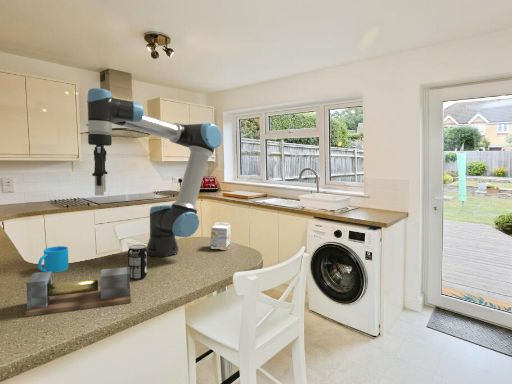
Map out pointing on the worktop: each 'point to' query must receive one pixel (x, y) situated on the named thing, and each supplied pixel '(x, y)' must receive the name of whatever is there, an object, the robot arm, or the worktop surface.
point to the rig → (110, 293)
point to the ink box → (220, 234)
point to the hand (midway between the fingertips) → (100, 193)
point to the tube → (72, 287)
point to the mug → (54, 259)
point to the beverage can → (137, 261)
